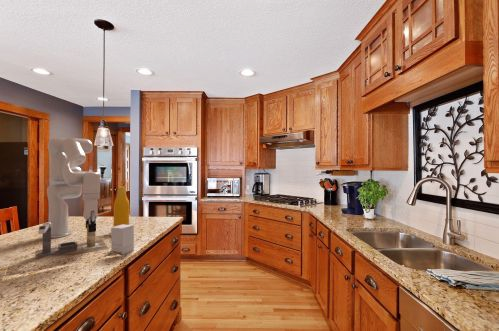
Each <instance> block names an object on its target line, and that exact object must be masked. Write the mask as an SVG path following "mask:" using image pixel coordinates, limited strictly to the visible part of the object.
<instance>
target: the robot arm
mask: <svg viewBox="0 0 499 331" xmlns="http://www.w3.org/2000/svg"><path fill="white" fill-rule="evenodd" d="M93 148H94V147H93V143H92V141H91V140H89V139H87V138H77V137H68V138H65V137H63V138H62V137H54V138H53V137H52V138H51V139H49V140H48V142H47V149H48V150H47V151H48V153H49V155H50V178H51V181H53V182H57V183H54V184H51V185H49V186H47V189H46V195H47V200H48V222H51V239H56V238H62V237H68V236H70V235H71V234H72V231H70V230H69V204H68V203H67V202H66V201H65V200H66V199H67V200H68V199H77V198H80V197H81V195H82V200H83V201H84V204H83V219H84V220H85V228H86V229H87V225H88V232H95V233H96V232H97V218H98V204H99V203H98V200H100V199H101V173H100V172H96V171H92V170H91V171H88V170H87V171H84V170H83V171H82V168H80V166H81V165H82V164H84V163H85V162H86V161H87V156H86V154H90V153H92V151H93ZM58 182H65V183H58Z"/></svg>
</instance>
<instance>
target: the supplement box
mask: <svg viewBox="0 0 499 331" xmlns="http://www.w3.org/2000/svg"><path fill="white" fill-rule="evenodd" d="M134 227H135V226H134V225H132V224H129V225H124V224H122V225H119V226H115V227H114V226H112V227H110V230H111V233H110V240H111V242H110V243H111V250H110V251H112V252H115V253H116V252H117V253H116V254H117V255H125V254H127V253H130V252H133V251H134V250H135V249H134V248H135V246H134V245H135V238H134V237H135V236H134V235H135V234H134V233H135V232H134V231H135V230H134V229H135V228H134Z"/></svg>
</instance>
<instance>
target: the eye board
mask: <svg viewBox="0 0 499 331" xmlns="http://www.w3.org/2000/svg"><path fill="white" fill-rule="evenodd" d="M41 243H42V249H38V250H35V255H34V263H39V262H45V261H52V260H56V259H62V258H66V257H67V258H68V257H72V256H78V255H83V254H89V253H94V252H99V251H105V250H109V249H110V248H109V247H108V245H107V244H106V243H105V242H104V240H103V239H98V240H95V246H94V247H87V241H85V242H79V243H78V242H77V241H76V240H74V241H69V242H62V243H59V244H57V246H55V247H54V246H53V247H52V238H51V227H49V228H48V229H47V231H46V232H45V233H43V234H42V242H41Z"/></svg>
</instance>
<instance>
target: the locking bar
mask: <svg viewBox="0 0 499 331" xmlns="http://www.w3.org/2000/svg"><path fill="white" fill-rule="evenodd" d="M49 227H51V222H49V221H48V222H43V223H42V225H40V226H38V235H41V234H42V235H43V233H45V232H46V231H47V229H48V228H49Z"/></svg>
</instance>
